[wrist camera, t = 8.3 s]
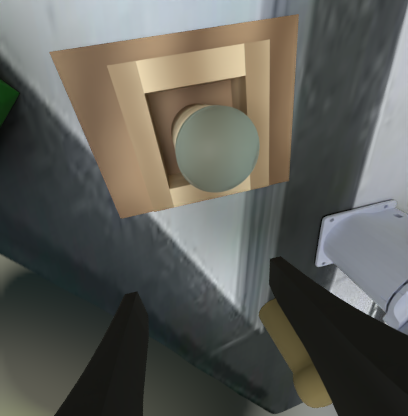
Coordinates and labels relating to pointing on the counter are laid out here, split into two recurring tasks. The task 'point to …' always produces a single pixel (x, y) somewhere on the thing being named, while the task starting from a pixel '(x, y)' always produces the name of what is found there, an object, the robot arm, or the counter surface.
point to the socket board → (181, 104)
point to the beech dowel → (214, 146)
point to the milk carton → (6, 99)
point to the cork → (294, 356)
